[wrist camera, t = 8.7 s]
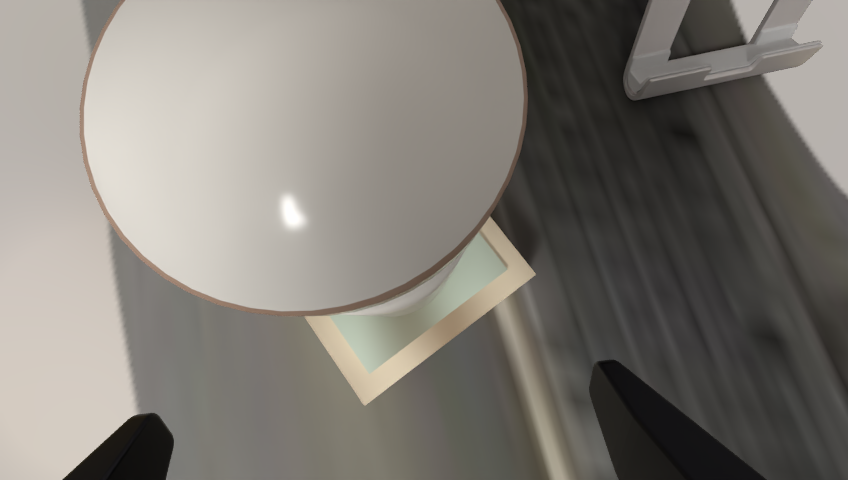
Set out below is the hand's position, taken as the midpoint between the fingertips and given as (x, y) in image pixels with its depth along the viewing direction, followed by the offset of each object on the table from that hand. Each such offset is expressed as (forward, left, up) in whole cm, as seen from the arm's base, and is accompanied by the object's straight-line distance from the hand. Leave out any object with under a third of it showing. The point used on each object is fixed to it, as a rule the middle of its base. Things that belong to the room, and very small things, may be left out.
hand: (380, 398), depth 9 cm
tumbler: (+2, +4, -9) cm, 10 cm away
